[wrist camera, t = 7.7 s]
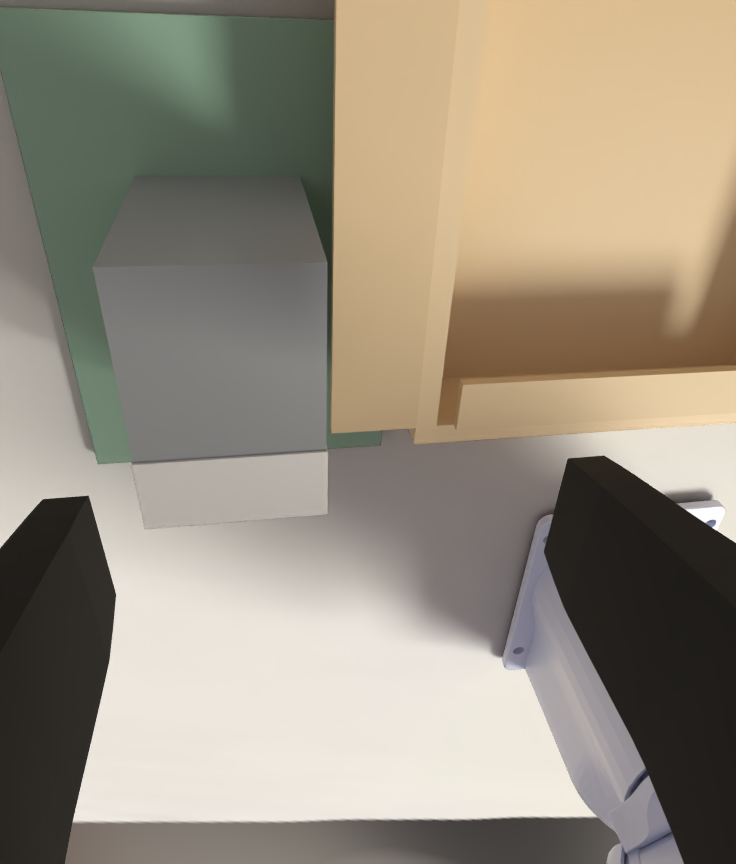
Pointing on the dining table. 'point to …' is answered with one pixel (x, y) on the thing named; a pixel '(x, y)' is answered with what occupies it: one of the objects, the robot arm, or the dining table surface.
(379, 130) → the tan wooden shallow tray
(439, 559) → the dining table surface
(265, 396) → the grey box
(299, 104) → the flat green panel
